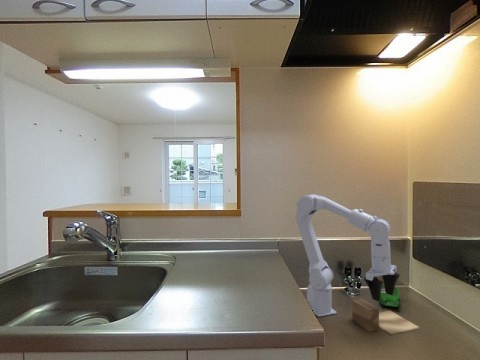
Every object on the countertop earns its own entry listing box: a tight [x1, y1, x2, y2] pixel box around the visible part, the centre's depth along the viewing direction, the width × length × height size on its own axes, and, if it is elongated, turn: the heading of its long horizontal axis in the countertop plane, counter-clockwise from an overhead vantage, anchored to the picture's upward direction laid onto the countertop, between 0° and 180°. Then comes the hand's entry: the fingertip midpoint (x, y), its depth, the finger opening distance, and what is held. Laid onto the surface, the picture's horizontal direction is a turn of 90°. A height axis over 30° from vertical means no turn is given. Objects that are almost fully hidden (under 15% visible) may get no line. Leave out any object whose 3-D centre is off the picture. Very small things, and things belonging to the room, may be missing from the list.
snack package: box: [379, 284, 401, 308], centre depth 111 cm, size 7×16×5 cm, turn 152°
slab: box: [351, 298, 380, 332], centre depth 95 cm, size 4×8×7 cm, turn 18°
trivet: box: [379, 310, 420, 336], centre depth 96 cm, size 12×12×1 cm
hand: (382, 297), depth 92 cm, fingers open, 7 cm apart
